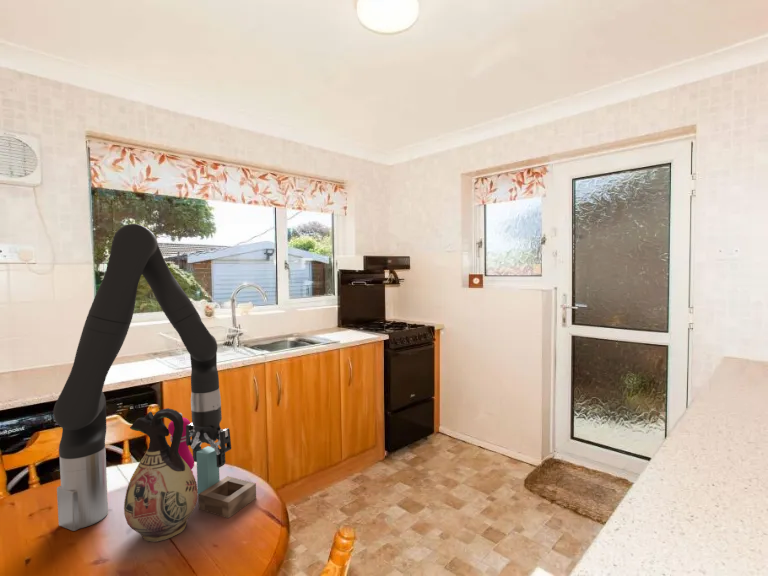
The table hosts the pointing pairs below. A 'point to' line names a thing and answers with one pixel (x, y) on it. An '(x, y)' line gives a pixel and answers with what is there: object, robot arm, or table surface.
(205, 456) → the peg
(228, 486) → the socket block
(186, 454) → the pepper mill
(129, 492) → the ceramic jug
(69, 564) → the table surface
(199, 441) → the robot arm
